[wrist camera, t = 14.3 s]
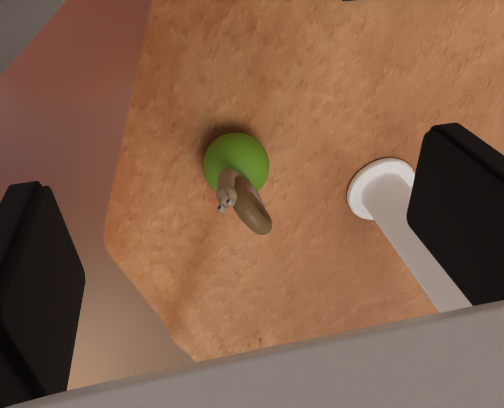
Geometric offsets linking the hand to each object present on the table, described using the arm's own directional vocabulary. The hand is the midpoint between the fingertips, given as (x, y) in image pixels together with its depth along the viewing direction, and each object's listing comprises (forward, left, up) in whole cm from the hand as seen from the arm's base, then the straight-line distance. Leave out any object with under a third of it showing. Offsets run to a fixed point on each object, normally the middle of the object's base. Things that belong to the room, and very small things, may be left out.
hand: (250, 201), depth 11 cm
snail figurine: (+2, -11, -24) cm, 26 cm away
